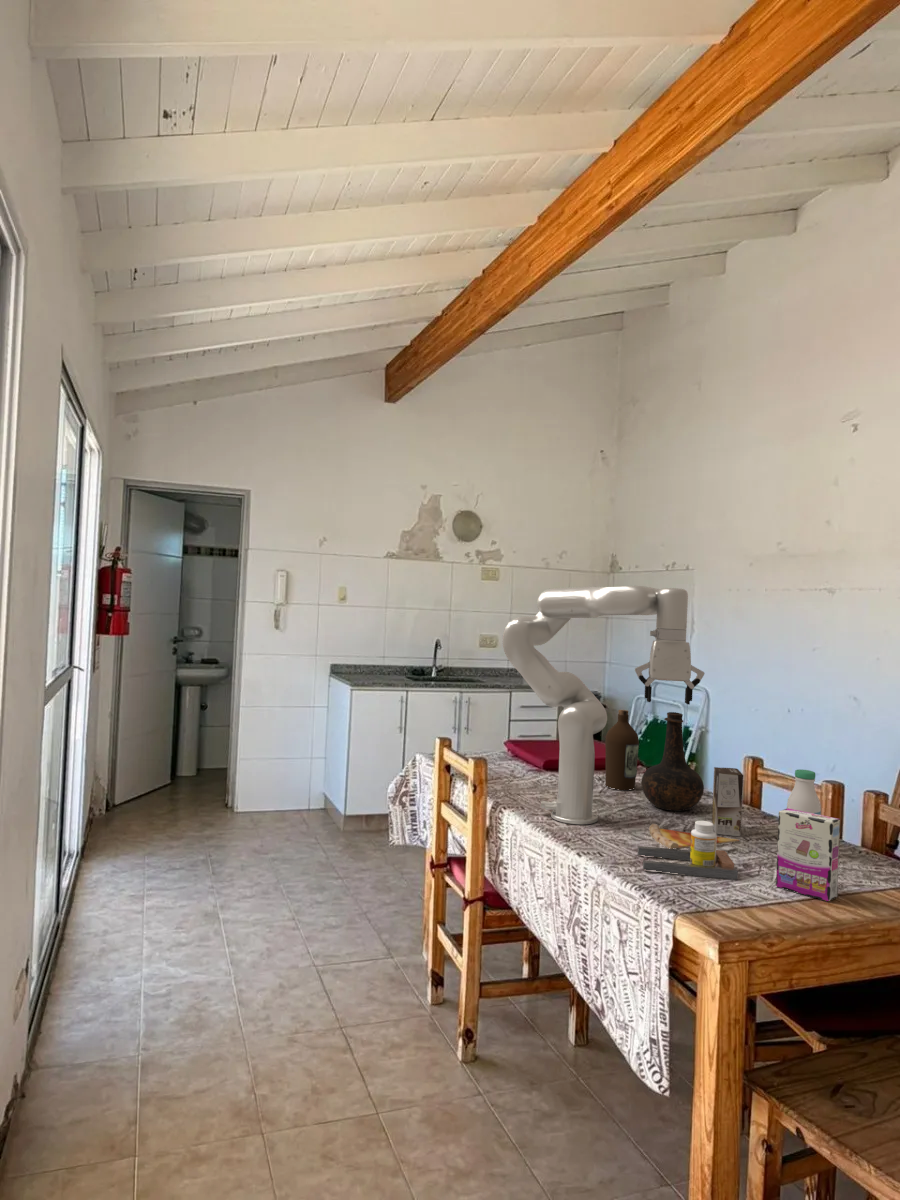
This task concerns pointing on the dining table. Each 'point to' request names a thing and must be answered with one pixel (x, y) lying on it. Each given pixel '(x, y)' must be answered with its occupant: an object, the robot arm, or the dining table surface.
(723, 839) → the pizza slice
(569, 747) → the robot arm
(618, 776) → the olive oil
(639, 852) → the frame
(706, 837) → the supplement bottle
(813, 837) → the candy bar box
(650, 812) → the dining table surface
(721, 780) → the coffee box
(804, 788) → the milk bottle
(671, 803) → the dark brown vase
